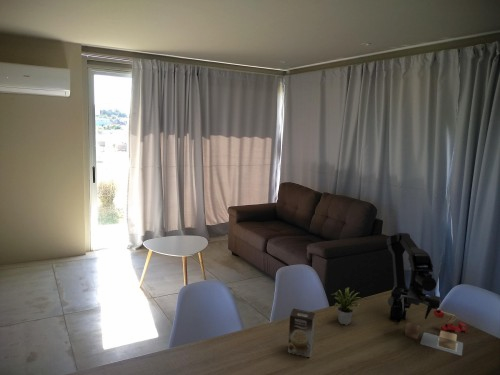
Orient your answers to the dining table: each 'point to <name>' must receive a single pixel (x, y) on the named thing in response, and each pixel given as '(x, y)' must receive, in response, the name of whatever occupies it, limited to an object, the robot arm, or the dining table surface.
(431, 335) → the plate
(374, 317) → the dining table surface
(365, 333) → the dining table surface
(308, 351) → the coffee box
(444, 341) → the oak base block
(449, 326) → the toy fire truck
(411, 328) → the walnut cube
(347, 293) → the house plant
